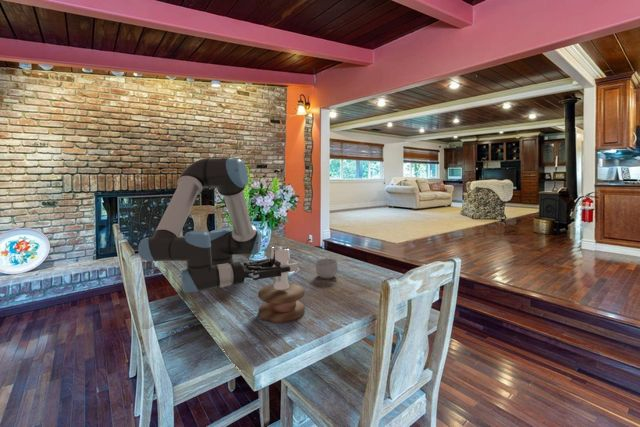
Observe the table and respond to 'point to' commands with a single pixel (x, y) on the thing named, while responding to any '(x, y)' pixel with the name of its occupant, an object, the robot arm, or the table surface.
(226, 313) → the table surface
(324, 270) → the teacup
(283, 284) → the beer glass
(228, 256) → the robot arm
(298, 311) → the walnut bobbin
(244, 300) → the table surface
